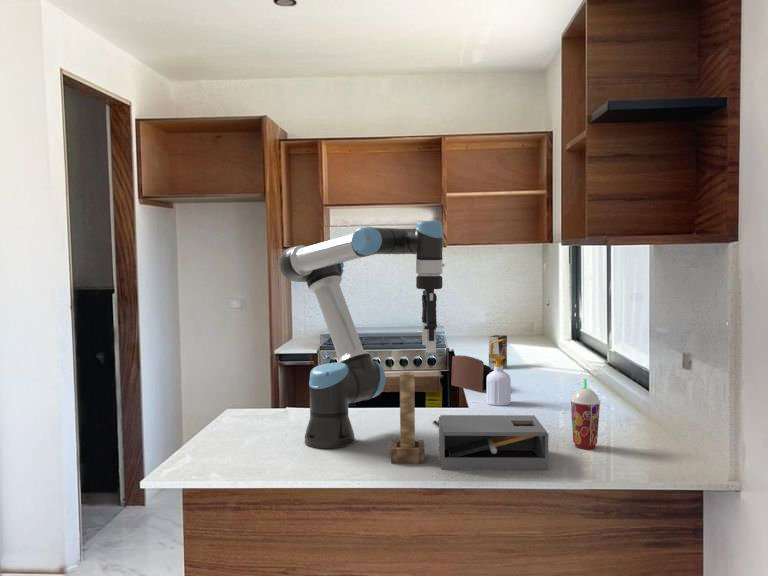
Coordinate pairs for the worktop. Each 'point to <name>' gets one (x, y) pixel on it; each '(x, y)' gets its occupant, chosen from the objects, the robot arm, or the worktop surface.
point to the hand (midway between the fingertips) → (428, 348)
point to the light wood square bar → (407, 409)
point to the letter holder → (469, 373)
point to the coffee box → (498, 349)
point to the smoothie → (585, 417)
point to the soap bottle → (498, 382)
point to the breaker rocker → (484, 445)
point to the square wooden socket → (407, 453)
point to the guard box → (478, 426)
